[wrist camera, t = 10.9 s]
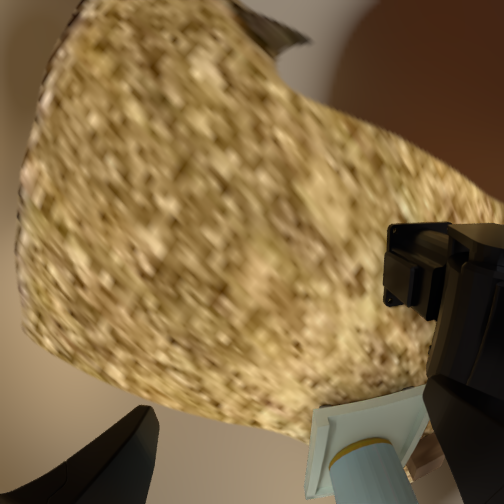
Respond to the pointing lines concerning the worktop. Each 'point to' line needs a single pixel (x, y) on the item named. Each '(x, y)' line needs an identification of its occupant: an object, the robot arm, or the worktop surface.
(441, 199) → the worktop surface
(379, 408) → the tray
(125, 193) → the worktop surface
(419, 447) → the walnut block
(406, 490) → the bottle
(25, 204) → the worktop surface
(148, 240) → the worktop surface
